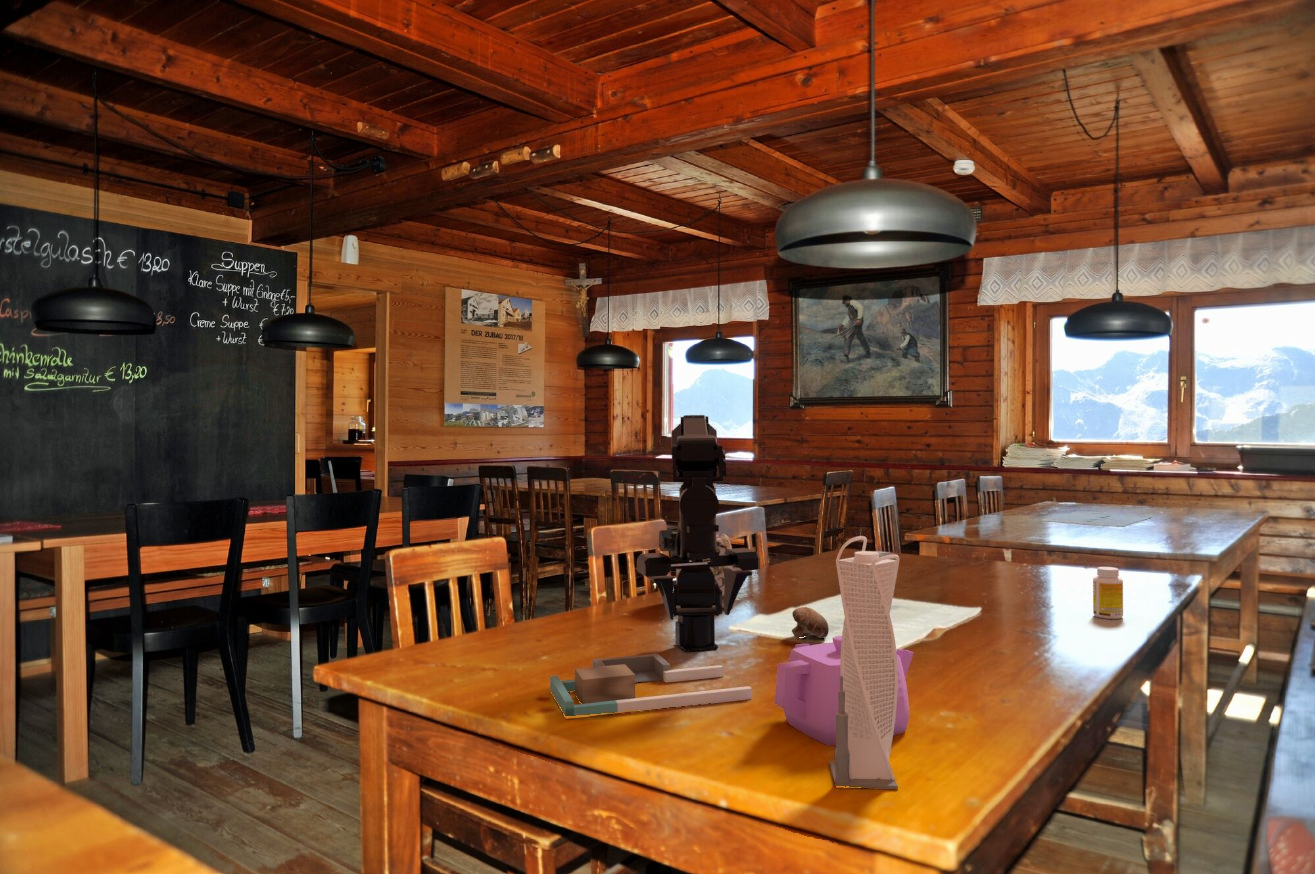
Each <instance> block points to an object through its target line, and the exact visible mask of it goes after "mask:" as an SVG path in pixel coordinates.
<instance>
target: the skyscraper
mask: <svg viewBox="0 0 1315 874" xmlns="http://www.w3.org/2000/svg"><path fill="white" fill-rule="evenodd" d="M857 541H863V543H862V544H863V545H862V549H861V550H860V551H854V556H853V557H846V558H842V559H841V556H842V554H843V551H844V550H845V548H846V547H848V546H849V545H850V544H851V543H854V542H857ZM867 543H868V539H867V537H866V536H864V535H859V536H858V535H857V536H854V537H852V538H849V539H848V540H847V541H845V542H844V543H843V544H842V546H841V548H839V551H838V553H837V556H836V559H835V564H836V570H837V571H836V572H837V579H838V584H839V591H840V597H841V603H842V608H843V615H844V620H843V626H842V633H841V636H842V642H841V657H840V690H838V703H839V712H835V715H836V746H835V749H834V760H829V763H828V764H829V768H830V772H831V776H832V779H834V780H833V783H834V782H835V784H834V787H835V786H845V787H846V786H849V787H861V788H882V789H881V790H889V789H898V790H899V788H898V787H899V785H898V783H897V781H896V778H895V775H894V772H893V770H892V766H891V764H890V757H891V756H890V755H891V750H892V743H893V737H894V735H893V732H894V725H895V717H896V707H897V693H898V664H897V645H896V637H895V633H894V627H893V622H892V619H891V618H892V617H891V614H890V613H891V609H892V603H893V599H894V593H895V587H896V582H897V577H898V571H899V565H900V560H901V559H900V556H899V555H898V554H896V553H895V554H886V555H883V556H880V553H879V552H877V551H870V550H868V551H867V550H866V547H867Z"/></svg>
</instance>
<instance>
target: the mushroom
mask: <svg viewBox="0 0 1315 874" xmlns="http://www.w3.org/2000/svg"><path fill="white" fill-rule="evenodd" d="M792 618H793V621H794V622H796V626H795V627H793V628H792V629H791V632H792V634H793V636H795V637H796V638H797V639H799V637H804V636H807V637H808V636H810V635H811V636H816V637H817V638H818V637H819V639H821V638H824V639H826V638H827V637H828V635H829V623H828V621H827V619H826V618H825V617H824V616H823V615H821V613H819V612H817V611H816V610H815V609H813V608H812V607H807V606H801V607H797V608H795V609H794V610H793V611H792Z"/></svg>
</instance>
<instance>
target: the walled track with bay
mask: <svg viewBox="0 0 1315 874" xmlns="http://www.w3.org/2000/svg"><path fill="white" fill-rule="evenodd" d="M622 664H625V665H626V666H627V667H628V668H629V669H630V670H631V671H632V672H633V673H634V674H635V684H639V683H638V682H642V683H650V682H658V681H659V682H661V680H662V681H663V680H664V682H665V683H666V684H667V683H675V682H684V681H685V682H686V681H693V680H694V681H695V680H704V679H713V678H724V673H725V672H724V666H723V665H722V664H719V665H710V666H709V665H708V666H700V667H698V666H697V667H687V668H679V669H678V668H677V669H676V668H675V669H671V664H670V663H669V662H668V660H666V659H665V658H664V657H663V656H661V655H660V654H659V653H650V654H649V653H648V654H647V653H646V654H637V655H628V656H626V655H625V656H617V657H606V658H605V657H604V658H595V659H592V667H601V666H611V665H622ZM574 690H575V679H564V680H561V679H560V677H559V675H550V676H549V691H551V692H552V694H553V695H554V697H555V699H556V701H557V702H558V704H559V706H560V707H561V709H562V711H563V713H564V714H565V716H576V715H590V714H601V713H615V712H624V711H638V710H648V709H658V710H661V709H660V708H667V707H676V708H682V707H681V706H685V707H688V706H687V705H693V706H699V705H698V704H701V705H709V704H708V703H711V704H719V703H727V702H735V701H736V702H738V701H745V700H753V687H751V686H746V685H745V686H739V687H729V688H722V689H721V688H719V689H710V690H702V691H700V690H699V691H692V692H691V691H690V692H682V693H674V694H664V695H663V694H662V695H655V696H645V697H643V696H642V697H635V698H634V699H625V700H615V701H606V702H597V703H587V704H580V703H579V704H575V701H574V700H573V698H572V696H571V694H570V692H569V693H568V691H574ZM552 694H551V695H552ZM556 701H555V702H556ZM701 705H700V706H701ZM667 709H668V708H667Z"/></svg>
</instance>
